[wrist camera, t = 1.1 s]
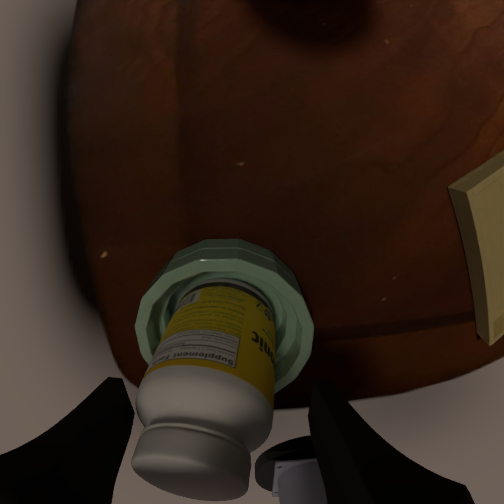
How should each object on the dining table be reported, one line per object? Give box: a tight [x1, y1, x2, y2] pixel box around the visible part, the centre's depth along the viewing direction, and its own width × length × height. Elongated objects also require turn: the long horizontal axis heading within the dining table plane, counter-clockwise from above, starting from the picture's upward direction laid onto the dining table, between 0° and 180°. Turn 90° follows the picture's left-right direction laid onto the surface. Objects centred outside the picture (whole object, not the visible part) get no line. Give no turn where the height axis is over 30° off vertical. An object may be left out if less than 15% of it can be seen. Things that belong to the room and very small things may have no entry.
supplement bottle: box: [131, 278, 276, 501], centre depth 12 cm, size 5×5×10 cm
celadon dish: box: [135, 239, 314, 394], centre depth 16 cm, size 9×9×4 cm
